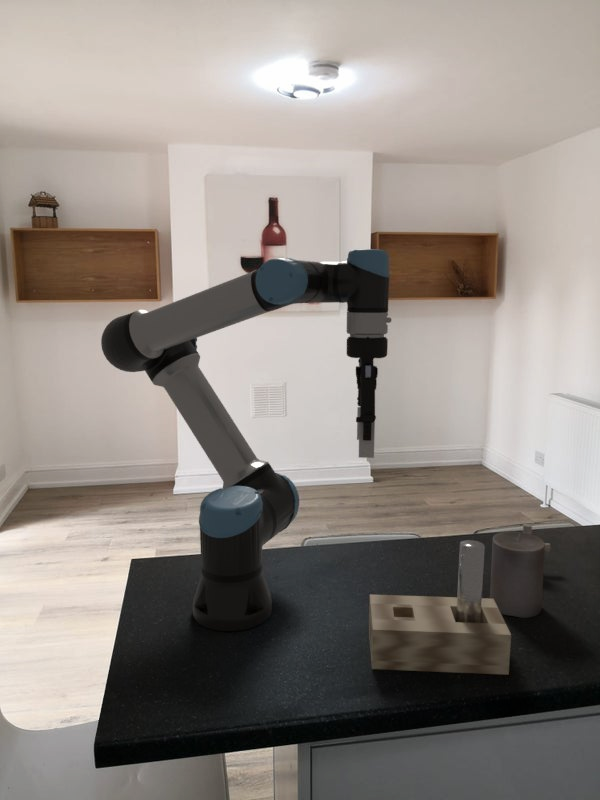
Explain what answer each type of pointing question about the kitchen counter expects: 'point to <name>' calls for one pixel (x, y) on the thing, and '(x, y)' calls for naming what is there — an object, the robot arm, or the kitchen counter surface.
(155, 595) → the kitchen counter surface
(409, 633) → the hole block
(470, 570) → the pin
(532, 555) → the pillar candle
